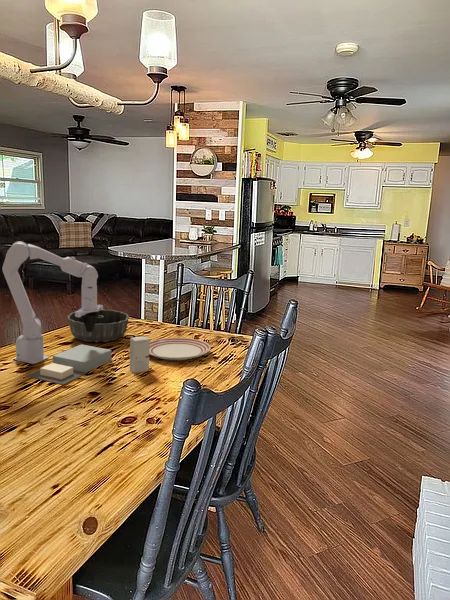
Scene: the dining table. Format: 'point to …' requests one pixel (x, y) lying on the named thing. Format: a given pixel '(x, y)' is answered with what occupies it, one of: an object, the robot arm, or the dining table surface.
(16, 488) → the dining table surface
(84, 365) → the grey flat block
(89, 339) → the bundt pan
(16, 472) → the dining table surface
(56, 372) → the cream rectangular block
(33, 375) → the mat
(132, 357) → the skincare box
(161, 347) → the dinner plate
